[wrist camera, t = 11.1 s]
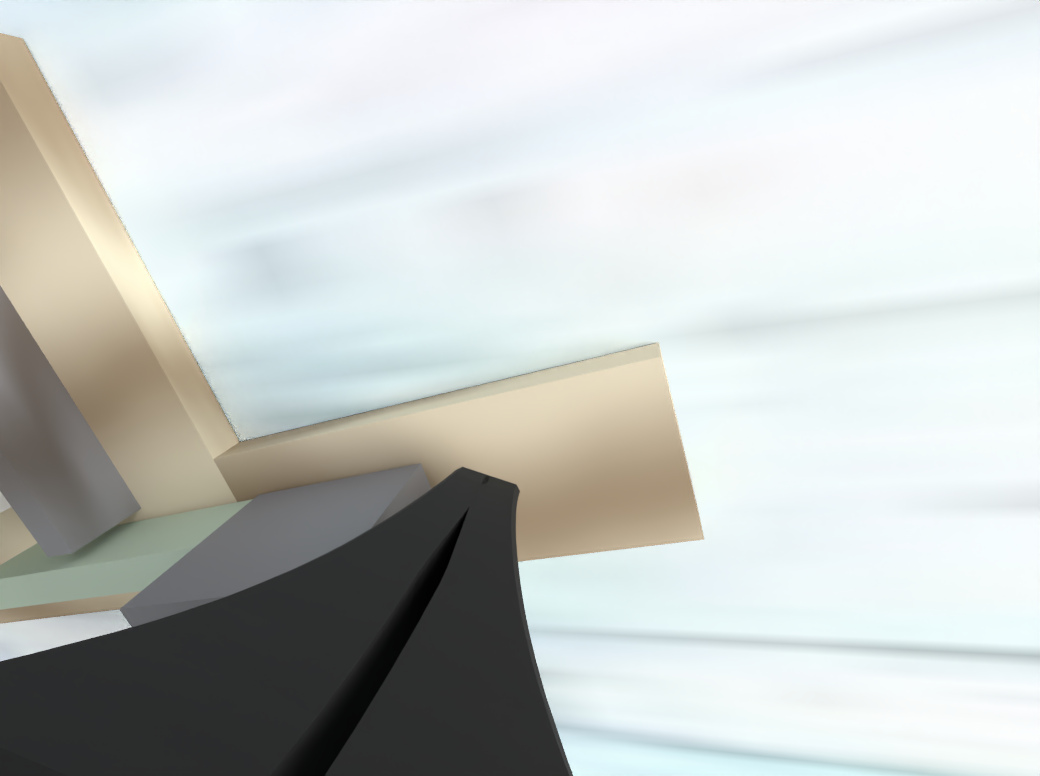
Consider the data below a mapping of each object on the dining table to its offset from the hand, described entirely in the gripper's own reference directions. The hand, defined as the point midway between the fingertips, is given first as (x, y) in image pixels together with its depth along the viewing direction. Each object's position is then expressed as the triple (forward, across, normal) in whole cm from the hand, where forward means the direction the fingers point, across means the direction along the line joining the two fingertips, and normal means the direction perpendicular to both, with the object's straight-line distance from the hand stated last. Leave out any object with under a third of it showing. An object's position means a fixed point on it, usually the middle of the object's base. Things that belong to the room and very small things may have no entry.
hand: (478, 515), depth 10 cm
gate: (+2, +8, +5) cm, 9 cm away
